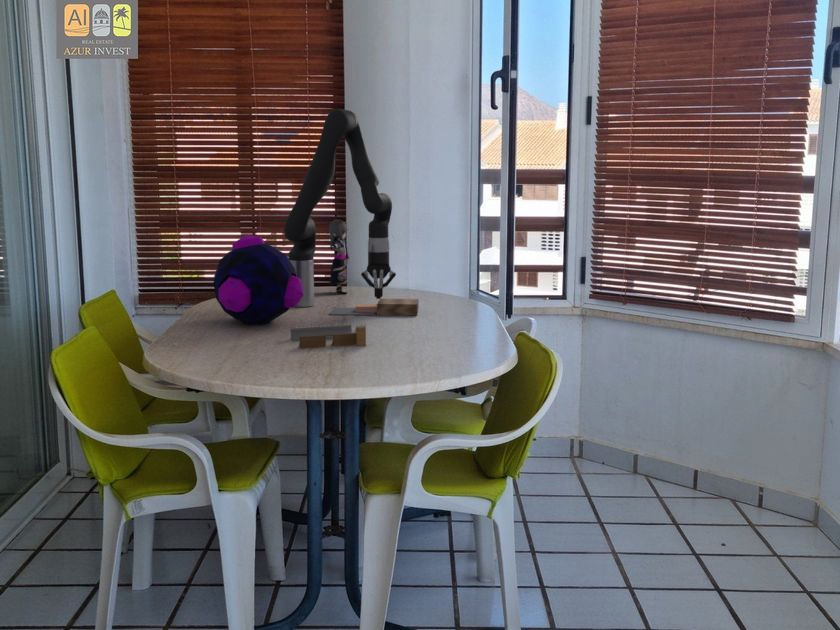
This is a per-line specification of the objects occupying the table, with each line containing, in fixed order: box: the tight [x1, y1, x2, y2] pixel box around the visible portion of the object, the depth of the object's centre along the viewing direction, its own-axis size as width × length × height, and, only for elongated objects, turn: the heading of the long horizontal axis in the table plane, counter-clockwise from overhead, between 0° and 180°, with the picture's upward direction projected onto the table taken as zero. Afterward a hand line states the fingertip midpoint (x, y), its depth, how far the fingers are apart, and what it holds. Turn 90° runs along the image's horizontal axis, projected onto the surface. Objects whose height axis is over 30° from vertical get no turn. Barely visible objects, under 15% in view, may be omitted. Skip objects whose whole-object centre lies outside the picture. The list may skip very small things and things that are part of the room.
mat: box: [328, 307, 377, 317], centre depth 325 cm, size 16×14×1 cm
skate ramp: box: [290, 321, 367, 349], centre depth 267 cm, size 29×35×8 cm
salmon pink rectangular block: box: [355, 303, 377, 313], centre depth 325 cm, size 8×6×2 cm
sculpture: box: [213, 234, 304, 325], centre depth 300 cm, size 30×29×30 cm
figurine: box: [328, 219, 350, 294], centre depth 363 cm, size 17×8×30 cm, turn 179°
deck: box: [376, 298, 420, 316], centre depth 324 cm, size 14×12×4 cm
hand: (378, 298), depth 324 cm, fingers closed
